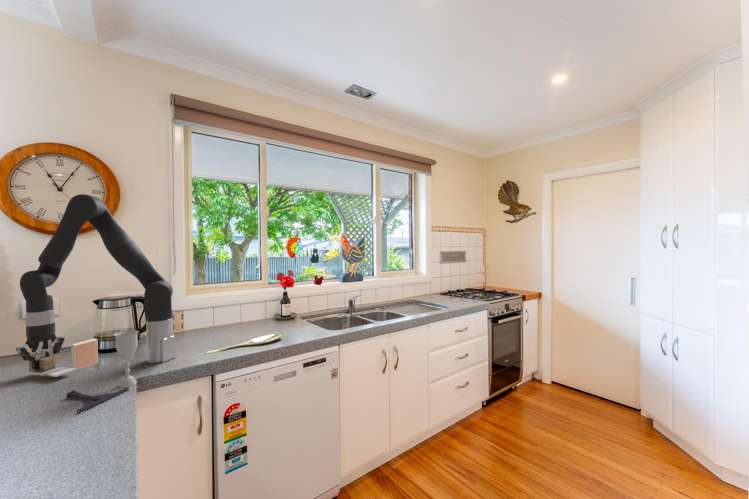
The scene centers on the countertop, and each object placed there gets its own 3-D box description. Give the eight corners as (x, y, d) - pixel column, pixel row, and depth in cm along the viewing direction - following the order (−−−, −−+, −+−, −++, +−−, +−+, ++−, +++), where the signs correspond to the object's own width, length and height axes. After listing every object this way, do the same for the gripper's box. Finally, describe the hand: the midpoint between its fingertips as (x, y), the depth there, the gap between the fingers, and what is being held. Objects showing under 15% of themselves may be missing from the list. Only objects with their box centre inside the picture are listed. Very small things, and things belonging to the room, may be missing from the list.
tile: (98, 362, 129) (97, 339, 129) (76, 370, 121) (75, 345, 121) (94, 362, 129) (93, 338, 129) (71, 370, 122) (71, 344, 122)
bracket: (92, 389, 106) (92, 381, 106) (129, 392, 103) (128, 383, 103) (40, 411, 92) (40, 402, 92) (81, 415, 89) (81, 406, 89)
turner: (75, 369, 117) (74, 356, 117) (56, 376, 111) (55, 363, 111) (44, 367, 120) (43, 354, 120) (24, 373, 115) (23, 360, 114)
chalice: (145, 381, 110) (144, 331, 110) (124, 389, 104) (123, 336, 103) (131, 378, 113) (129, 329, 112) (109, 386, 106) (108, 334, 106)
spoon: (207, 360, 135) (207, 356, 135) (203, 354, 143) (203, 349, 143) (285, 340, 156) (284, 336, 155) (278, 335, 164) (277, 331, 164)
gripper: (23, 328, 109) (25, 377, 109) (70, 318, 122) (72, 362, 123) (7, 327, 110) (10, 375, 111) (56, 318, 124) (57, 360, 124)
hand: (42, 368), depth 117 cm, fingers closed on turner, 3 cm apart
